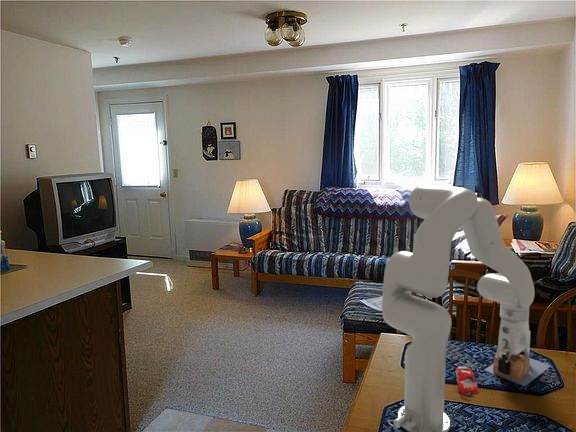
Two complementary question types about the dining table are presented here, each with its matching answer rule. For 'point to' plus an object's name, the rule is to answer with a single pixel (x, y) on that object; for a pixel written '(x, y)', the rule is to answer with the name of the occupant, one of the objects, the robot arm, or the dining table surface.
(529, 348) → the white rounded rod
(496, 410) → the dining table surface
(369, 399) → the dining table surface
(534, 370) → the grey flat plate
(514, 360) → the light brown hollow block
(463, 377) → the race car
